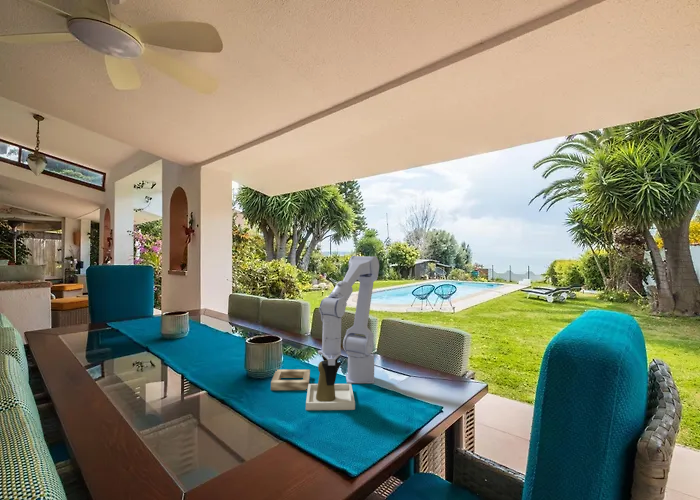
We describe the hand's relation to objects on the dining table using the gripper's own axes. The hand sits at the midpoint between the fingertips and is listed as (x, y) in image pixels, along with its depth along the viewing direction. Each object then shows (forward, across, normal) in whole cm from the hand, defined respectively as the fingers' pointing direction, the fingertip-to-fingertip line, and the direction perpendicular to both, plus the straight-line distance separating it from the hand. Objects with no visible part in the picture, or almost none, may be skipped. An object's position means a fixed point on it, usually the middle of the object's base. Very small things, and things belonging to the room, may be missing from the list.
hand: (330, 381), depth 103 cm
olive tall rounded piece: (+5, 0, -1) cm, 5 cm away
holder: (+5, -13, -13) cm, 19 cm away
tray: (+5, 0, 0) cm, 5 cm away
